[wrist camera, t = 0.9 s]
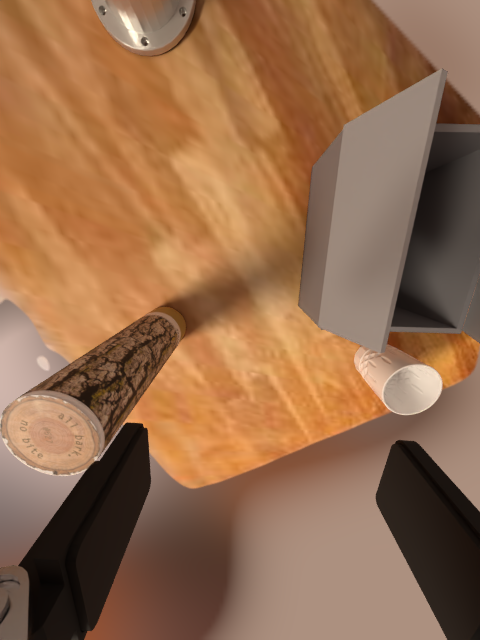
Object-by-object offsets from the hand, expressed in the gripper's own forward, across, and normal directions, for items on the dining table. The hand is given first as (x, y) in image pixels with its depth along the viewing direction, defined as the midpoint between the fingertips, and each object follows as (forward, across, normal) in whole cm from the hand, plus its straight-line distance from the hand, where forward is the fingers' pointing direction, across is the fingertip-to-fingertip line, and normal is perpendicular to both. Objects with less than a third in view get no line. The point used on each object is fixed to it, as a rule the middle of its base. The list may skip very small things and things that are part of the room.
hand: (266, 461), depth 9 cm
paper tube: (+31, +14, +6) cm, 34 cm away
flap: (+15, -9, -9) cm, 20 cm away
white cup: (+31, -23, +9) cm, 39 cm away
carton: (+31, -16, -10) cm, 36 cm away
